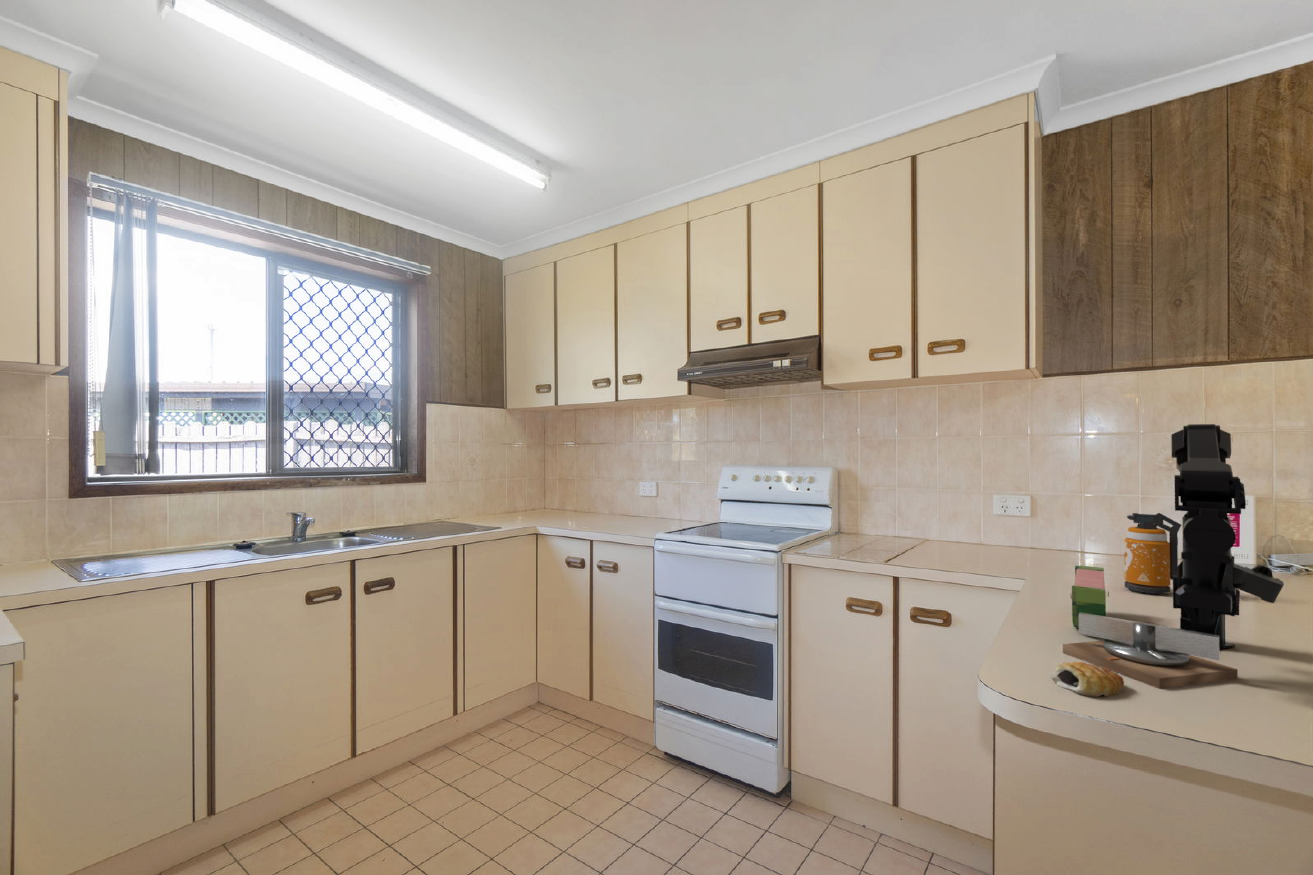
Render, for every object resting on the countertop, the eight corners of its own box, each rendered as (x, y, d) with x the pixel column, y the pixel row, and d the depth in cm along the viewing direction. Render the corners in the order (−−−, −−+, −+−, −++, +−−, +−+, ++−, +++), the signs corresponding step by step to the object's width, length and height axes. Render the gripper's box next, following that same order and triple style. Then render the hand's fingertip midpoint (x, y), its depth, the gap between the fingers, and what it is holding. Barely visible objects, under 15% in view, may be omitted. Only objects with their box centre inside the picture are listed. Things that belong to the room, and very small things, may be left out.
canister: (1122, 586, 157) (1121, 510, 157) (1176, 591, 151) (1176, 512, 152) (1127, 593, 149) (1126, 513, 150) (1185, 599, 144) (1184, 515, 144)
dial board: (1133, 645, 109) (1133, 636, 109) (1237, 679, 93) (1237, 668, 93) (1062, 652, 105) (1062, 643, 105) (1159, 688, 89) (1159, 677, 89)
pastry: (1095, 678, 94) (1096, 653, 94) (1139, 695, 87) (1139, 669, 87) (1046, 682, 92) (1047, 658, 92) (1087, 701, 85) (1087, 674, 85)
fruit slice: (1073, 609, 134) (1072, 564, 134) (1108, 614, 130) (1107, 568, 130) (1069, 638, 113) (1068, 585, 113) (1110, 645, 109) (1110, 590, 109)
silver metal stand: (1121, 636, 108) (1121, 609, 108) (1226, 669, 92) (1226, 636, 93) (1073, 641, 106) (1073, 612, 106) (1172, 675, 90) (1172, 641, 90)
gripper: (1279, 561, 84) (1280, 673, 83) (1278, 546, 96) (1279, 644, 96) (1174, 550, 92) (1175, 653, 91) (1186, 539, 104) (1187, 628, 104)
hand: (1207, 644), depth 95 cm, fingers closed
